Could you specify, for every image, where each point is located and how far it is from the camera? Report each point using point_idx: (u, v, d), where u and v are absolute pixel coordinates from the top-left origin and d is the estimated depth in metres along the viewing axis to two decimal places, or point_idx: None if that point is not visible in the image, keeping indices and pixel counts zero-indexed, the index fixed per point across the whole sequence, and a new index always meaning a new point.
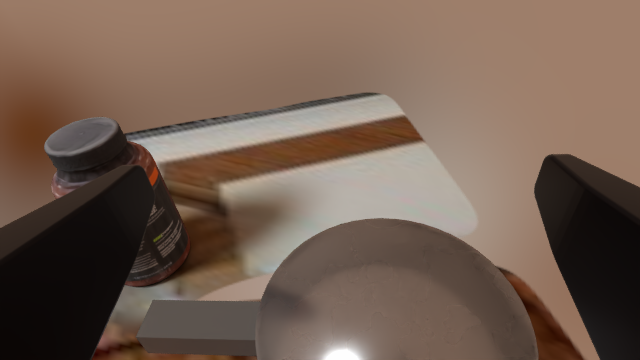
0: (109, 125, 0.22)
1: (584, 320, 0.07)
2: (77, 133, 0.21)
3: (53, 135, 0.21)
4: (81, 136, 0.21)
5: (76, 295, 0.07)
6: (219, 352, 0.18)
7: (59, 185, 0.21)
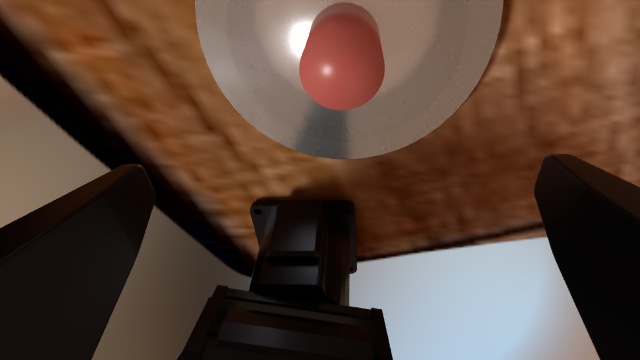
0: None
1: (584, 320, 0.07)
2: None
3: None
4: None
5: (76, 295, 0.07)
6: None
7: None
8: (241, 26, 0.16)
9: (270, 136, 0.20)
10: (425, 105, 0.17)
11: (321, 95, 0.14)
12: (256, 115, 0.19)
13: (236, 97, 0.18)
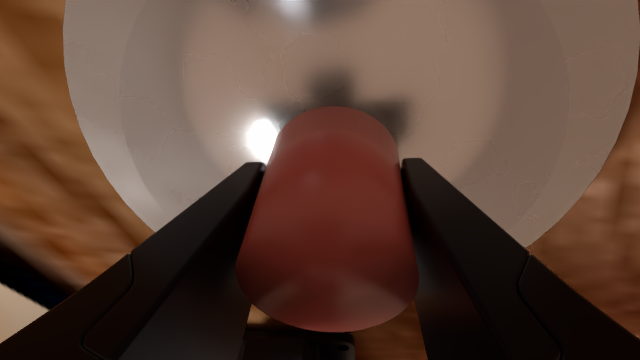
0: None
1: None
2: None
3: None
4: None
5: (230, 297, 0.06)
6: None
7: None
8: (151, 138, 0.09)
9: None
10: None
11: (286, 311, 0.07)
12: None
13: None
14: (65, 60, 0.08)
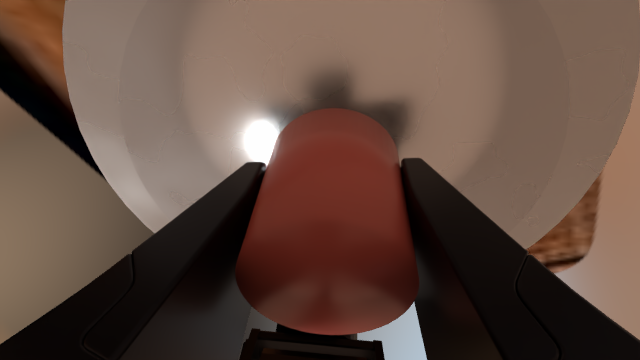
0: None
1: (418, 317, 0.07)
2: None
3: None
4: None
5: (230, 297, 0.06)
6: None
7: None
8: (150, 140, 0.09)
9: None
10: None
11: (286, 314, 0.07)
12: None
13: None
14: (64, 62, 0.08)
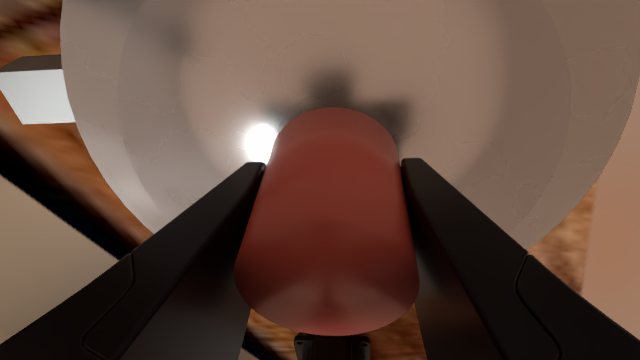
0: None
1: (418, 317, 0.07)
2: None
3: None
4: None
5: (230, 297, 0.06)
6: None
7: None
8: (149, 140, 0.09)
9: None
10: None
11: (285, 315, 0.07)
12: None
13: (162, 227, 0.11)
14: (63, 60, 0.08)
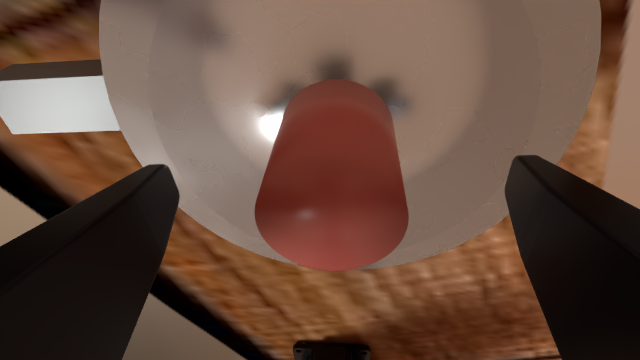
0: None
1: (547, 319, 0.07)
2: None
3: None
4: None
5: (108, 295, 0.07)
6: None
7: None
8: (174, 110, 0.10)
9: (234, 242, 0.14)
10: (459, 217, 0.11)
11: (296, 251, 0.08)
12: (212, 217, 0.13)
13: (181, 195, 0.13)
14: (100, 39, 0.09)
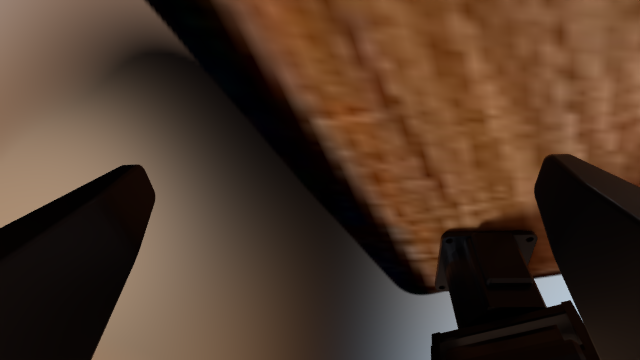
0: None
1: (584, 320, 0.07)
2: None
3: None
4: None
5: (76, 295, 0.07)
6: None
7: None
8: None
9: None
10: None
11: None
12: None
13: None
14: None
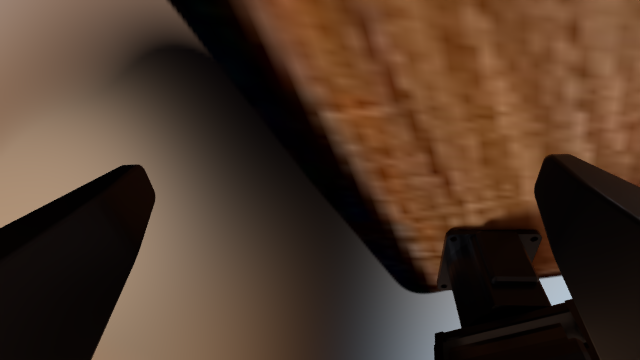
0: None
1: (584, 320, 0.07)
2: None
3: None
4: None
5: (76, 295, 0.07)
6: None
7: None
8: None
9: None
10: None
11: None
12: None
13: None
14: None
